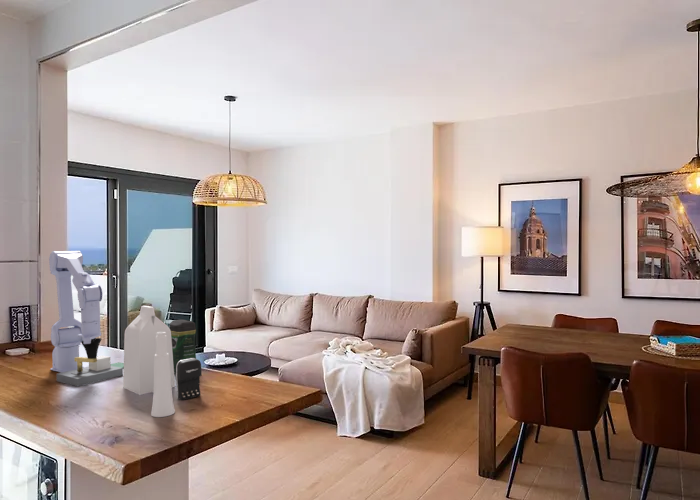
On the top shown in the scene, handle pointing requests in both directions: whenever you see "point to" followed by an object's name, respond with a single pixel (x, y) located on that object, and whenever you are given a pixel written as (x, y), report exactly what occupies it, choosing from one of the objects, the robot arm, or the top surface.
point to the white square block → (100, 363)
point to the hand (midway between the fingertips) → (92, 360)
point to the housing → (88, 375)
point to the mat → (118, 365)
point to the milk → (144, 351)
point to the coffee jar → (182, 340)
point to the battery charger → (188, 378)
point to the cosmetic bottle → (162, 380)
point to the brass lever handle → (83, 359)
